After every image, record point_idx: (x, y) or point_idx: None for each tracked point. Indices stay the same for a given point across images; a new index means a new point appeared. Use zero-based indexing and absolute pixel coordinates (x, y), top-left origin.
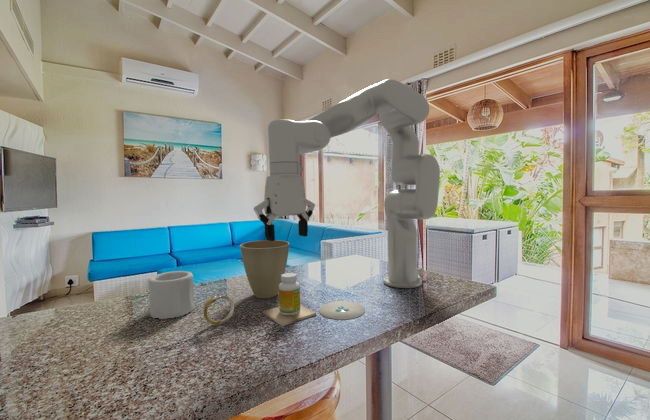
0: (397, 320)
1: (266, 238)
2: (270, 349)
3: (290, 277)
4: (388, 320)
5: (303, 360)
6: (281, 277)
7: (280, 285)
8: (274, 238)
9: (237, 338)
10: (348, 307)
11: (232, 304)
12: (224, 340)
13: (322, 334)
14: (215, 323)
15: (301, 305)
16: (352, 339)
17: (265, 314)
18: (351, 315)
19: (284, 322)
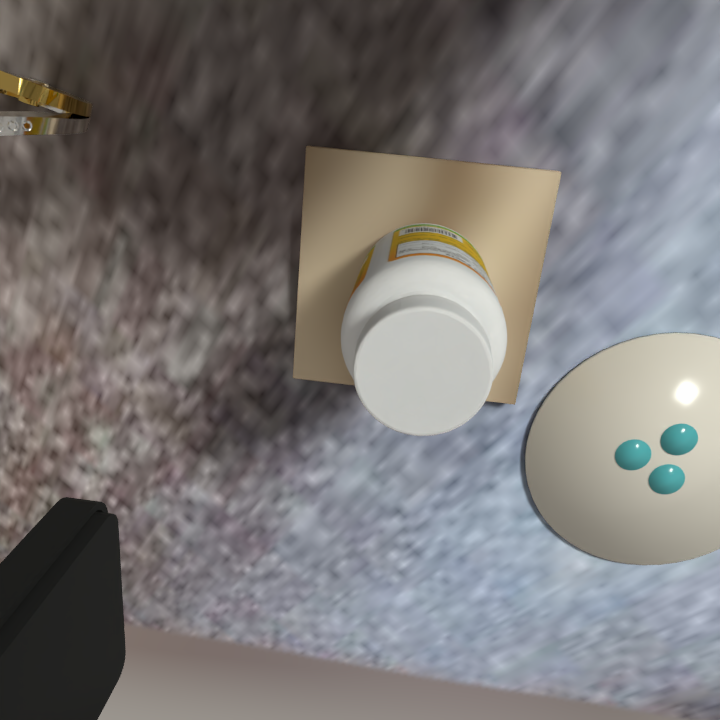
0: (700, 691)
1: (58, 507)
2: (146, 493)
3: (391, 428)
4: (676, 666)
5: (200, 617)
6: (356, 349)
7: (348, 328)
8: (105, 692)
9: (71, 319)
10: (707, 467)
11: (58, 130)
12: (16, 292)
13: (375, 552)
14: (8, 94)
15: (542, 258)
16: (426, 650)
17: (304, 185)
18: (616, 538)
19: (310, 373)
